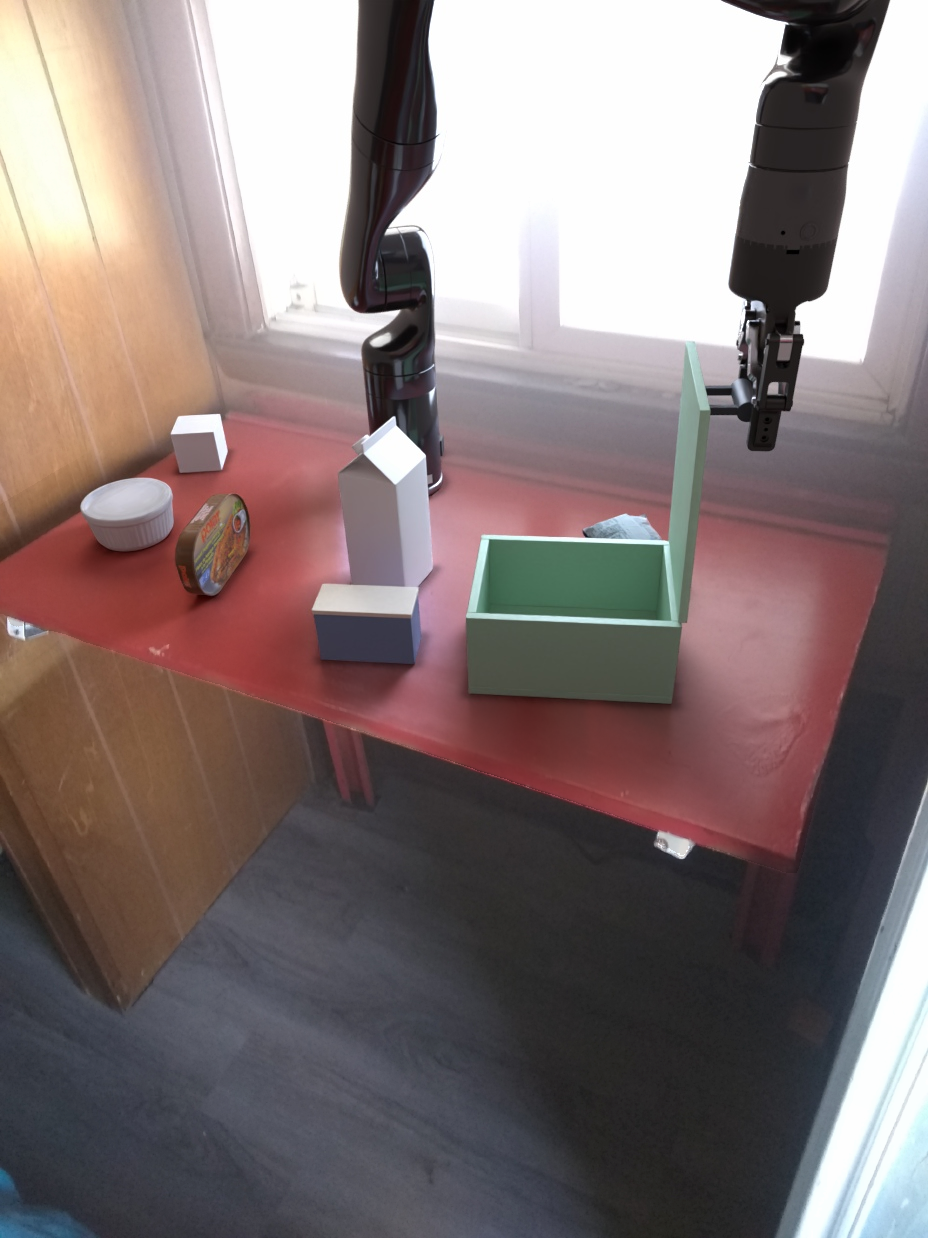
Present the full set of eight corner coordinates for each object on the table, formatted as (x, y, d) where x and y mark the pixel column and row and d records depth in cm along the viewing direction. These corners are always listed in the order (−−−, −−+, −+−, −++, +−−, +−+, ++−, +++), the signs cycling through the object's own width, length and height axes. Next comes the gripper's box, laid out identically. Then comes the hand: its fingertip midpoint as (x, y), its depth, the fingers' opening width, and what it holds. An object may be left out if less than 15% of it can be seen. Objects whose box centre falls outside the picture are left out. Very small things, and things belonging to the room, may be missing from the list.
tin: (207, 610, 104) (191, 547, 99) (181, 608, 105) (164, 545, 100) (256, 540, 116) (245, 480, 111) (233, 538, 117) (220, 479, 111)
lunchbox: (468, 693, 91) (465, 618, 86) (483, 606, 103) (481, 534, 98) (671, 704, 89) (682, 627, 84) (663, 613, 101) (671, 540, 95)
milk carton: (433, 569, 109) (424, 421, 98) (405, 602, 104) (392, 449, 93) (381, 557, 112) (366, 411, 100) (351, 588, 107) (331, 438, 95)
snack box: (330, 632, 100) (322, 583, 96) (422, 636, 99) (418, 586, 95) (319, 660, 96) (311, 610, 93) (415, 665, 95) (411, 614, 91)
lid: (700, 410, 71) (772, 410, 70) (685, 341, 83) (747, 340, 82) (678, 623, 83) (739, 624, 83) (668, 536, 95) (721, 537, 94)
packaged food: (645, 533, 114) (648, 498, 111) (688, 585, 105) (693, 548, 102) (579, 546, 113) (580, 511, 110) (617, 600, 103) (619, 563, 100)
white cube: (227, 451, 136) (220, 413, 133) (221, 470, 132) (213, 431, 128) (186, 453, 136) (178, 415, 133) (179, 472, 131) (170, 434, 128)
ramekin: (108, 512, 123) (98, 476, 120) (191, 510, 123) (182, 475, 119) (77, 557, 114) (65, 521, 111) (166, 557, 114) (156, 520, 110)
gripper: (725, 204, 75) (701, 393, 85) (747, 254, 64) (716, 465, 74) (820, 204, 75) (784, 394, 84) (859, 254, 63) (813, 467, 73)
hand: (753, 427), depth 79 cm, fingers open, 8 cm apart
